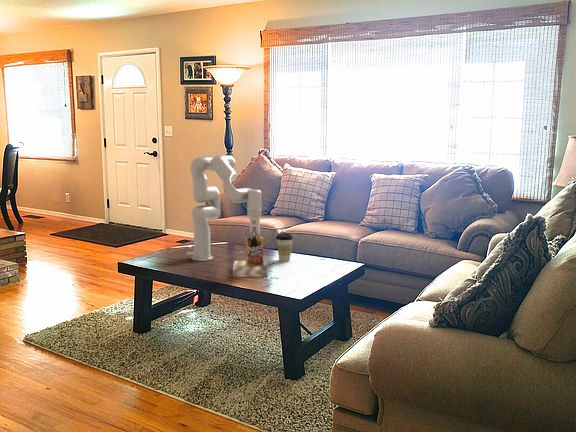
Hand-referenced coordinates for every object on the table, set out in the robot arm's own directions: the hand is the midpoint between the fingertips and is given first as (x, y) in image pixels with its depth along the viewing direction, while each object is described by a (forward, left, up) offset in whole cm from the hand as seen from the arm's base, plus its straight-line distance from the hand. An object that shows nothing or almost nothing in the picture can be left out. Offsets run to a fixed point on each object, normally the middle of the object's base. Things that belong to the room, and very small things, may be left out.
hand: (254, 244), depth 305 cm
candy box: (0, 0, -11) cm, 11 cm away
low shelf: (-2, 0, -15) cm, 15 cm away
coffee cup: (+17, +26, -15) cm, 35 cm away
